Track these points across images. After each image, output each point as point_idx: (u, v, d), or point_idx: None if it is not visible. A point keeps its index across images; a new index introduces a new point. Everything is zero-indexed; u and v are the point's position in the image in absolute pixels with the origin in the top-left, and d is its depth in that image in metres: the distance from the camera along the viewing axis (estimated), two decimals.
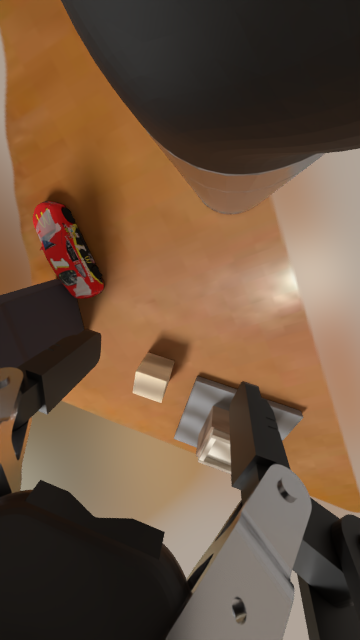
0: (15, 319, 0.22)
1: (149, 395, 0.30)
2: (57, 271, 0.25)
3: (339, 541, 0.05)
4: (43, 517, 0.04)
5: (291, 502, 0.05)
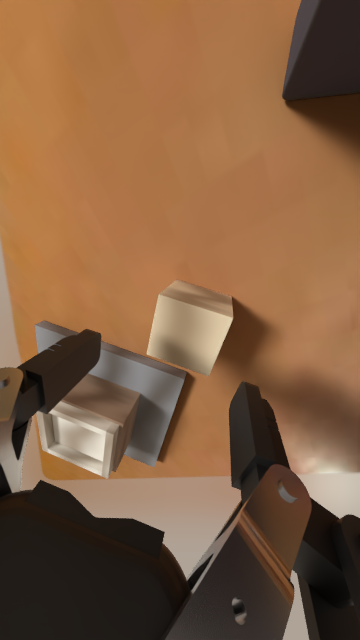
0: None
1: (161, 333, 0.13)
2: None
3: (339, 541, 0.05)
4: (43, 517, 0.04)
5: (291, 502, 0.05)
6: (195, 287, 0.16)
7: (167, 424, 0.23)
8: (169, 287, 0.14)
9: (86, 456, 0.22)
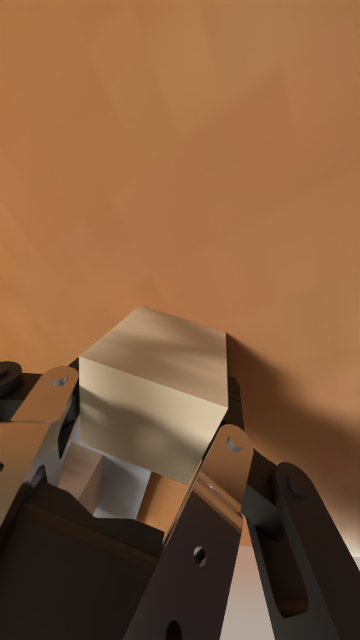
0: None
1: (97, 418, 0.07)
2: None
3: (275, 488, 0.05)
4: (43, 517, 0.04)
5: (235, 450, 0.06)
6: (167, 321, 0.10)
7: (142, 491, 0.17)
8: (115, 329, 0.08)
9: None
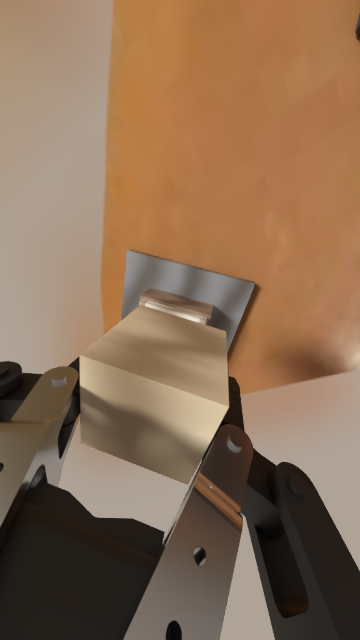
0: None
1: (97, 417, 0.07)
2: None
3: (275, 488, 0.05)
4: (43, 517, 0.04)
5: (235, 451, 0.06)
6: (167, 320, 0.10)
7: (233, 334, 0.27)
8: (116, 328, 0.08)
9: None
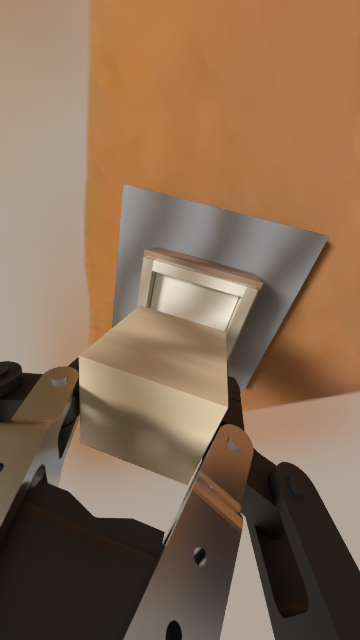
0: None
1: (97, 417, 0.07)
2: None
3: (275, 488, 0.05)
4: (43, 517, 0.04)
5: (235, 450, 0.06)
6: (167, 320, 0.10)
7: (281, 319, 0.18)
8: (115, 329, 0.08)
9: None
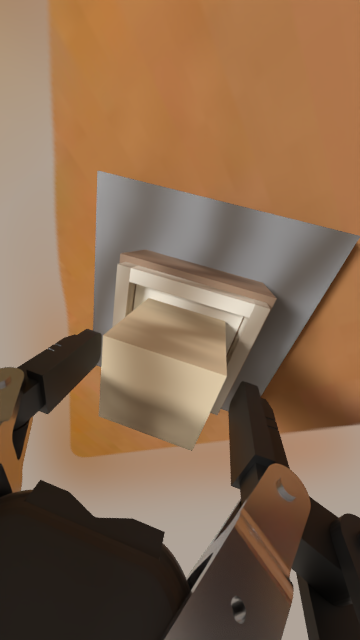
0: None
1: (115, 390, 0.08)
2: None
3: (338, 540, 0.05)
4: (43, 517, 0.04)
5: (290, 501, 0.05)
6: (173, 311, 0.11)
7: (294, 337, 0.15)
8: (129, 316, 0.09)
9: None
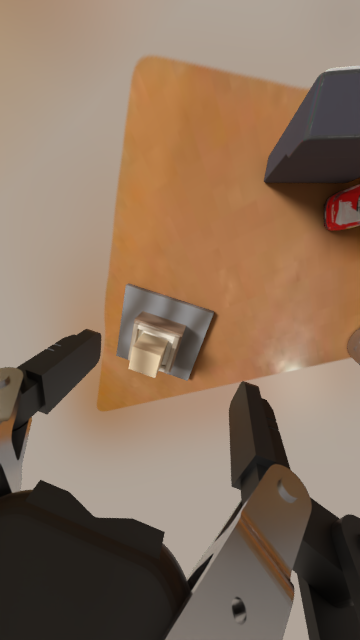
0: None
1: (134, 360, 0.32)
2: None
3: (339, 541, 0.05)
4: (43, 517, 0.04)
5: (291, 502, 0.05)
6: (151, 337, 0.34)
7: (200, 345, 0.39)
8: (138, 340, 0.32)
9: None
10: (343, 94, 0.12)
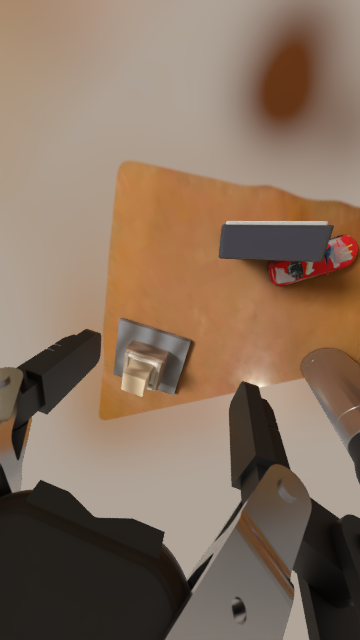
0: None
1: (125, 383, 0.40)
2: (303, 262, 0.30)
3: (339, 541, 0.05)
4: (43, 517, 0.04)
5: (291, 502, 0.05)
6: (139, 363, 0.42)
7: (181, 367, 0.46)
8: (128, 366, 0.40)
9: None
10: (237, 237, 0.20)
